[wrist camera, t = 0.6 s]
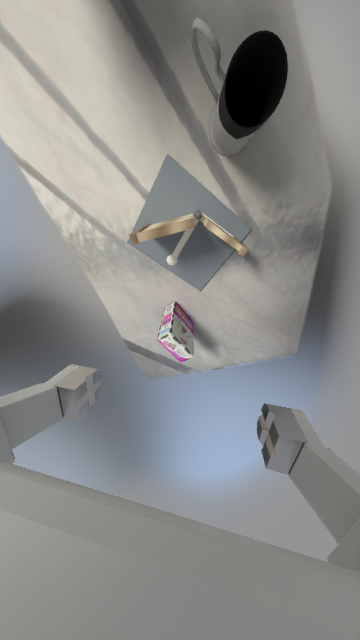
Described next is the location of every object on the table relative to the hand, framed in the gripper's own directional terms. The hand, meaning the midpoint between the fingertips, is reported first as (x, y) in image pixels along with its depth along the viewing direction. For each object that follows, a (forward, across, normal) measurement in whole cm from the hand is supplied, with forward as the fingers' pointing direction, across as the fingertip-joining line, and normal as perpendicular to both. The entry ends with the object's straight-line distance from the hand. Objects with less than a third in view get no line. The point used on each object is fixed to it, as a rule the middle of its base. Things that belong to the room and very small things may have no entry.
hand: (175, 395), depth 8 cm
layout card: (+43, +7, -12) cm, 45 cm away
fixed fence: (+43, 0, -14) cm, 45 cm away
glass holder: (+38, +2, -33) cm, 50 cm away
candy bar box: (+50, +8, +13) cm, 52 cm away
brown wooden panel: (+41, +11, -14) cm, 45 cm away
